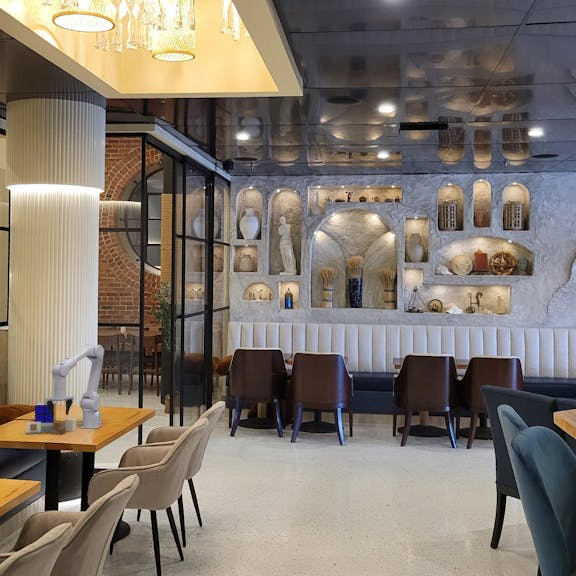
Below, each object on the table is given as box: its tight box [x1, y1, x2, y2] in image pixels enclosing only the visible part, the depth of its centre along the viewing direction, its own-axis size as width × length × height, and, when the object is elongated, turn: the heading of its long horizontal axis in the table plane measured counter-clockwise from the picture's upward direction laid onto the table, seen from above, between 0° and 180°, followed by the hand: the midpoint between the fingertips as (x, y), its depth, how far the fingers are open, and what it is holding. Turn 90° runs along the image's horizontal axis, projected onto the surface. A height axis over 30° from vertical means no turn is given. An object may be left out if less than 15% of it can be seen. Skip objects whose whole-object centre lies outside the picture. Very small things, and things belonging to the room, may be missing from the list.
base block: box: [41, 423, 53, 433], centre depth 386 cm, size 8×8×4 cm
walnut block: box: [52, 420, 66, 436], centre depth 377 cm, size 5×5×6 cm
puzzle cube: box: [34, 401, 57, 423], centre depth 412 cm, size 10×10×10 cm
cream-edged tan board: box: [25, 421, 42, 435], centre depth 377 cm, size 7×4×6 cm, turn 107°
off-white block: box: [63, 417, 77, 432], centre depth 387 cm, size 5×5×6 cm
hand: (59, 415), depth 377 cm, fingers open, 7 cm apart
